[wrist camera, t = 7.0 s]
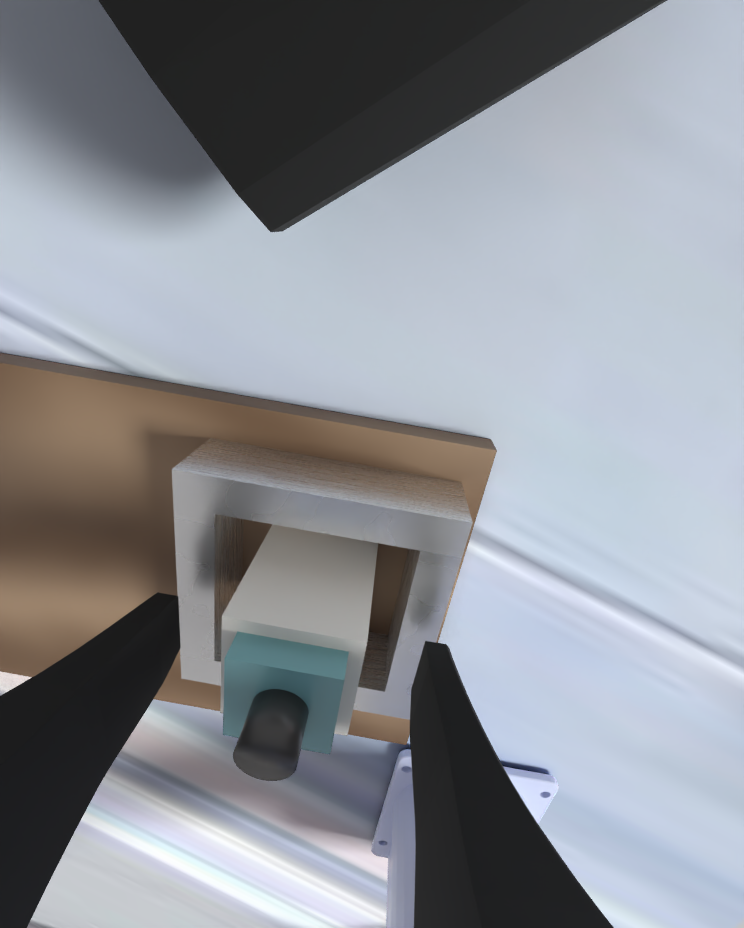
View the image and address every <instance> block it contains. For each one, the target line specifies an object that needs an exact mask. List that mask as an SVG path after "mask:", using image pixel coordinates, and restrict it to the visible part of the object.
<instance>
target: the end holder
mask: <svg viewBox="0 0 744 928" xmlns="http://www.w3.org/2000/svg"><path fill="white" fill-rule="evenodd" d="M172 486H173V508H174V529H175V551H176V573H177V594H178V600H179V623H180V645H181V648H180V659H181V679H187V680H192V681H198V682H203V683H209V684H214V685H220V686H221V633H222V615H223V613H224V611H225V610H226V608H227V606H228V604H229V602H230V601H231V599H232V597H233V595H234V593H235V591H236V590H237V588H238V586H239V584H240V582H241V581H242V558H243V530H244V519H246V520H251V521H257V522H262V523H268V524H274V525H279V526H285V527H290V528H296V529H302V530H307V531H313V532H318V533H324V534H330V535H335V536H341V537H346V538H352V539H358V540H363V541H369V542H374V543H380V544H386V545H391V546H397V547H402V548H408V553H407V557H406V561H405V566H404V570H403V574H402V578H401V583H400V587H399V591H398V595H397V599H396V604H395V608H394V612H393V616H392V621H391V625H390V629H389V633H388V635H383V634H378V633H372V632H368V641H367V646H366V651H365V656H364V660H363V665H362V670H361V674H360V679H359V684H358V689H357V693H356V698H355V703H354V707H353V710H358V711H363V712H369V713H375V714H380V715H386V716H391V717H397V718H402V719H408V720H410V706H411V689H412V685H413V682H414V678H415V675H416V671H417V668H418V664H419V661H420V657H421V654H422V651H423V647H424V644H425V641H430V642H435V643H436V641H437V638H438V635H439V631H440V628H441V625H442V622H443V618H444V615H445V612H446V608H447V605H448V602H449V599H450V595H451V592H452V589H453V586H454V582H455V579H456V576H457V572H458V569H459V566H460V563H461V559H462V556H463V553H464V550H465V546H466V543H467V540H468V536H469V533H470V530H471V527H472V523H473V522H472V519H471V515H470V511H469V507H468V504H467V500H466V496H465V493H464V489H463V485H462V482H457V481H451V480H446V479H440V478H434V477H429V476H423V475H417V474H412V473H406V472H401V471H395V470H389V469H384V468H378V467H372V466H367V465H361V464H355V463H350V462H344V461H339V460H333V459H327V458H322V457H316V456H310V455H305V454H299V453H293V452H288V451H282V450H277V449H271V448H265V447H260V446H254V445H248V444H243V443H237V442H231V441H226V440H220V439H215V438H210V439H209V440H208V441H206V442H205V443H204V444H203V445H201V446H200V447H199V448H198V449H196V450H195V451H194V452H193V453H191V454H190V455H189V456H188V457H186V458H185V459H184V460H183V461H181V462H180V463H179V464H178V465H176V466H175V467H174V468H173V469H172Z"/></svg>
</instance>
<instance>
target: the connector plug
mask: <svg viewBox="0 0 744 928" xmlns="http://www.w3.org/2000/svg"><path fill="white" fill-rule="evenodd" d="M377 550H378V543H374V542H369V541H363V540H358V539H352V538H346V537H341V536H335V535H330V534H324V533H318V532H313V531H307V530H302V529H296V528H290V527H285V526H279V525H274V524H272V526H271V528H270V530H269V532H268V533H267V535H266V537H265V539H264V541H263V542H262V544H261V546H260V548H259V550H258V551H257V553H256V555H255V557H254V559H253V561H252V562H251V564H250V566H249V568H248V570H247V571H246V573H245V575H244V577H243V579H242V581H241V582H240V584H239V586H238V588H237V590H236V591H235V593H234V595H233V597H232V599H231V601H230V602H229V604H228V606H227V608H226V610H225V611H224V613H223V615H222V633H221V707H220V713H223V735H226V736H232V737H237V738H239V739H238V742H237V745H236V747H235V750H234V753H233V758H234V761H235V763H236V765H237V766H238V767H239V768H240V769H241V770H242V771H243V772H244V773H246V774H248V775H250V776H252V777H254V778H257V779H261V780H267V781H277V780H283V779H286V778H288V777H290V776H291V775H292V774H293V773H294V772H295V770H296V767H297V763H298V758H299V754H300V750H301V749H303V750H308V751H314V752H319V753H325V754H330V752H331V747H332V742H333V737H334V734H340V735H345V736H347V735H348V731H349V726H350V721H351V717H352V712H353V707H354V703H355V698H356V693H357V689H358V684H359V679H360V674H361V670H362V665H363V660H364V656H365V651H366V646H367V641H368V632H369V623H370V613H371V604H372V595H373V586H374V577H375V568H376V559H377Z"/></svg>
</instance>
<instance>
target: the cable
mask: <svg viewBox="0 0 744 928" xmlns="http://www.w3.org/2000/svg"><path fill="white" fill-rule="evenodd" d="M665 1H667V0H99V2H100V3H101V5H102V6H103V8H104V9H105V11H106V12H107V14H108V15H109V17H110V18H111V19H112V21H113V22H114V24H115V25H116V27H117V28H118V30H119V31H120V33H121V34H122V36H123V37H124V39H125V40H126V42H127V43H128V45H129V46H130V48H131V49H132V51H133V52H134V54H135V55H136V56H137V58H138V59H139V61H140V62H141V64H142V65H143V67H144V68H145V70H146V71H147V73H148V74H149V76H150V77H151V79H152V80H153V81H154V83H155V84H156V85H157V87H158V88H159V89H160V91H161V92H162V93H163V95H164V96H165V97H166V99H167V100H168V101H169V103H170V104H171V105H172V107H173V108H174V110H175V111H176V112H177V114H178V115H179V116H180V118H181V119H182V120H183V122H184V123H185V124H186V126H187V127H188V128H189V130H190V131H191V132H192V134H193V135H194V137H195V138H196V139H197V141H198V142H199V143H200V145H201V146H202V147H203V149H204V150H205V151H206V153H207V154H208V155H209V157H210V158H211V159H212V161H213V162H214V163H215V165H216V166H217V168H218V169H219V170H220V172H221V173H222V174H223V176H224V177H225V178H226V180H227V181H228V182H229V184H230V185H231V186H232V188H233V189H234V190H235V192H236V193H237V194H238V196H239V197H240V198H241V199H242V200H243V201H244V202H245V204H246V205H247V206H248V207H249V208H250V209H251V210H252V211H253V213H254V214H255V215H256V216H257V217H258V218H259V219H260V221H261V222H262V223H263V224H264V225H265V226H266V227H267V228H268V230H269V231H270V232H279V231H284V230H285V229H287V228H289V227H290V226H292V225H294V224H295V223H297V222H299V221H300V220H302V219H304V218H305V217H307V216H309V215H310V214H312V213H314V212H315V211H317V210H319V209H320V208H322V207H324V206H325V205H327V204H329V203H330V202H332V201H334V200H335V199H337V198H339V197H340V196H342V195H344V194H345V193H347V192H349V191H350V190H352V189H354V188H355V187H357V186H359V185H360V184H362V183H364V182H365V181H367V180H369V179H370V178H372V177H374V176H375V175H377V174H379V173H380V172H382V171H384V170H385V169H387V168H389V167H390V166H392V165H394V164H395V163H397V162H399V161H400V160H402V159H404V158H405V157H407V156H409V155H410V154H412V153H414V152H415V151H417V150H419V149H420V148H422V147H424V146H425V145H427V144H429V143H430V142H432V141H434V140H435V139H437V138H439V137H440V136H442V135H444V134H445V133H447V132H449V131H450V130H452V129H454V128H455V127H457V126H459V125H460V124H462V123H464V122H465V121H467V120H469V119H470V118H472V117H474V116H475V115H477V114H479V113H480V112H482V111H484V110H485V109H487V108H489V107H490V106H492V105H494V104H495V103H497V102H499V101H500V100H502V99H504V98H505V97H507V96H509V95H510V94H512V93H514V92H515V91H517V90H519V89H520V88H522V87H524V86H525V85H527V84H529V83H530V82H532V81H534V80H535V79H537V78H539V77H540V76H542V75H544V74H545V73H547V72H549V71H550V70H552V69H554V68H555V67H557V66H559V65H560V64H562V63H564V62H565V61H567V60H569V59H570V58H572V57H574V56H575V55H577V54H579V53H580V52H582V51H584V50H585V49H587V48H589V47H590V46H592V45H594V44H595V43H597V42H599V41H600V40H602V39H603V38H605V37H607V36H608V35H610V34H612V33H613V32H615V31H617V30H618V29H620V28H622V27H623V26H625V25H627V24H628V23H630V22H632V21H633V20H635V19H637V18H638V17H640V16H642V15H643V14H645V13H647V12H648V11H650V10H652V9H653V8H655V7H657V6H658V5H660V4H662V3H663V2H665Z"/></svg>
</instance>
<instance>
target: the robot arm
mask: <svg viewBox="0 0 744 928" xmlns="http://www.w3.org/2000/svg"><path fill="white" fill-rule="evenodd" d="M180 648H181V645H180V623H179V600H178V596H175V595H170V594H164V593H159V592H157V593H156V594H154V595H153V596H151V597H150V598H149V599H147V600H146V601H144V602H143V603H142V604H140V605H139V606H137V607H136V608H135V609H133V610H132V611H131V612H129V613H128V614H126V615H125V616H124V617H122V618H121V619H119V620H118V621H117V622H115V623H114V624H112V625H111V626H110V627H108V628H107V629H105V630H104V631H102V632H101V633H99V634H98V635H97V636H95V637H94V638H92V639H91V640H89V641H88V642H86V643H85V644H84V645H82V646H81V647H79V648H78V649H76V650H75V651H73V652H72V653H70V654H68V655H67V656H65V657H64V658H62V659H61V660H59V661H58V662H56V663H54V664H53V665H51V666H50V667H48V668H47V669H45V670H43V671H42V672H40V673H39V674H37V675H35V676H34V677H32V678H30V679H29V680H27V681H25V682H24V683H22V684H20V685H19V686H17V687H15V688H13V689H12V690H10V691H8V692H6V693H5V694H3V695H1V696H0V928H27V926H28V924H29V922H30V920H31V918H32V916H33V914H34V912H35V910H36V908H37V905H38V903H39V901H40V899H41V897H42V895H43V893H44V891H45V889H46V887H47V885H48V883H49V881H50V879H51V877H52V875H53V873H54V871H55V869H56V867H57V865H58V863H59V861H60V859H61V857H62V855H63V853H64V851H65V849H66V847H67V845H68V843H69V841H70V839H71V837H72V836H73V834H74V832H75V830H76V828H77V826H78V824H79V822H80V820H81V818H82V816H83V815H84V813H85V811H86V809H87V807H88V805H89V803H90V801H91V800H92V798H93V796H94V794H95V792H96V790H97V788H98V786H99V785H100V783H101V781H102V780H103V778H104V776H105V775H106V773H107V771H108V769H109V768H110V766H111V765H112V763H113V761H114V760H115V758H116V757H117V755H118V754H119V752H120V750H121V749H122V747H123V746H124V744H125V743H126V741H127V740H128V738H129V736H130V735H131V733H132V732H133V730H134V729H135V727H136V725H137V724H138V722H139V721H140V719H141V718H142V716H143V714H144V713H145V711H146V710H147V708H148V707H149V705H150V703H151V702H152V700H153V699H154V697H155V695H156V694H157V692H158V691H159V689H160V687H161V686H162V684H163V682H164V680H165V678H166V676H167V674H168V673H169V671H170V669H171V667H172V664H173V662H174V660H175V658H176V656H177V654H178V652H179V650H180ZM410 745H411V750H408V749H406V750H403V751H401V752H400V753H399V755H398V758H397V761H396V765H395V768H394V771H393V775H392V778H391V781H390V785H389V788H388V791H387V795H386V798H385V801H384V805H383V808H382V811H381V815H380V818H379V821H378V825H377V828H376V831H375V835H374V838H373V841H372V852H373V854H375V855H377V856H381V857H386V858H388V885H387V915H386V928H613V926H612V925H611V924H610V923H609V921H608V920H607V919H606V918H605V916H604V915H603V914H602V912H601V911H600V910H599V909H598V907H597V906H596V905H595V903H594V902H593V901H592V899H591V898H590V897H589V895H588V894H587V893H586V891H585V890H584V889H583V887H582V886H581V885H580V883H579V882H578V881H577V879H576V878H575V877H574V875H573V874H572V872H571V871H570V870H569V868H568V867H567V865H566V864H565V862H564V861H563V860H562V858H561V857H560V855H559V854H558V852H557V851H556V850H555V848H554V847H553V845H552V844H551V842H550V841H549V840H548V838H547V837H546V835H545V834H544V832H543V831H542V830H541V828H540V826H539V825H538V823H539V822H540V820H541V818H542V816H543V815H544V813H545V811H546V810H547V808H548V806H549V805H550V803H551V801H552V800H553V798H554V796H555V795H556V793H557V791H558V789H559V786H558V783H557V780H556V778H555V777H553V776H551V775H548V774H542V773H537V772H531V771H525V770H520V769H514V768H509V767H503V766H502V764H501V762H500V760H499V758H498V756H497V755H496V753H495V751H494V749H493V747H492V745H491V743H490V741H489V739H488V737H487V735H486V733H485V731H484V729H483V727H482V725H481V723H480V721H479V719H478V717H477V715H476V713H475V710H474V708H473V706H472V704H471V702H470V700H469V697H468V695H467V693H466V690H465V688H464V686H463V683H462V681H461V678H460V676H459V673H458V671H457V668H456V666H455V663H454V660H453V658H452V655H451V652H450V649H449V647H448V646H447V645H446V644H441V643H435V642H430V641H425V644H424V647H423V651H422V654H421V657H420V661H419V664H418V668H417V671H416V675H415V678H414V682H413V685H412V689H411V706H410Z"/></svg>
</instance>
